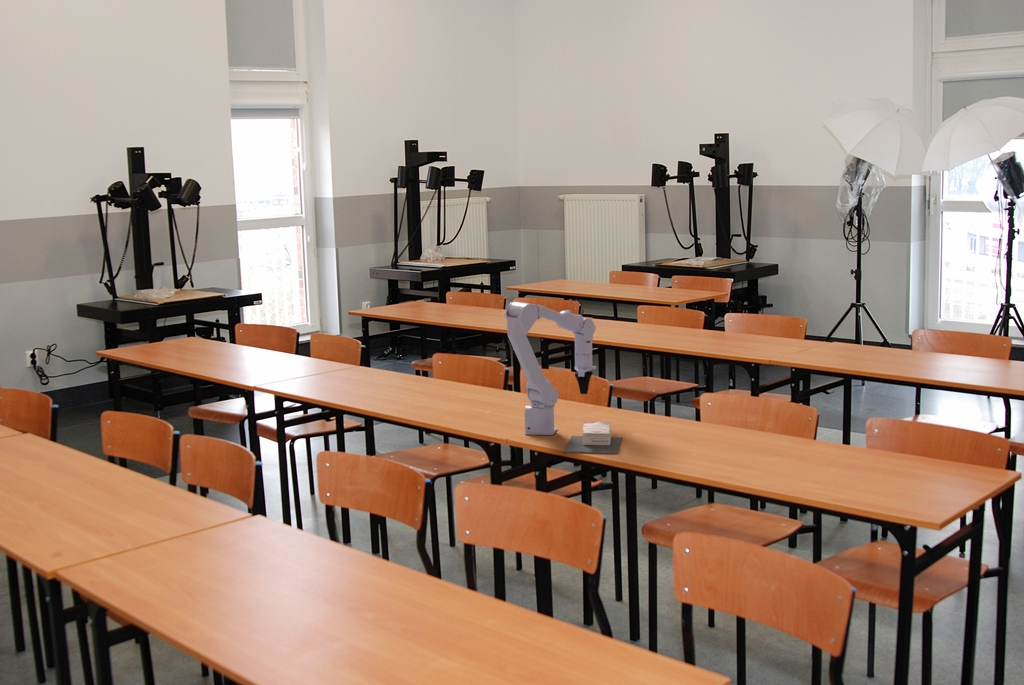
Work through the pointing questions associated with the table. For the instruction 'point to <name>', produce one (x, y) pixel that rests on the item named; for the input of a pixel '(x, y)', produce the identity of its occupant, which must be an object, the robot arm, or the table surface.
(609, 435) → the ink cartridge box
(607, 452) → the mat
